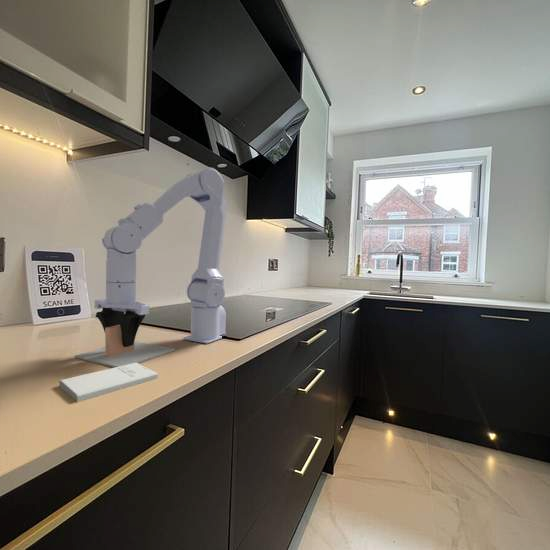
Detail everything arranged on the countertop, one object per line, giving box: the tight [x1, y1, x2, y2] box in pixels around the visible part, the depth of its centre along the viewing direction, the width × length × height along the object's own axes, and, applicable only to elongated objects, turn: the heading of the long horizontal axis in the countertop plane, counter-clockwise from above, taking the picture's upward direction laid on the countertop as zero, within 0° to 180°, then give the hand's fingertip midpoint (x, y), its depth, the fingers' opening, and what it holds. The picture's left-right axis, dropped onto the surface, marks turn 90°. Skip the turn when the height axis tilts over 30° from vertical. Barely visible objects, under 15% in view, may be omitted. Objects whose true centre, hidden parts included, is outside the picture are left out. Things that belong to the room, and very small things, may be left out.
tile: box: [104, 325, 136, 357], centre depth 65 cm, size 6×2×6 cm, turn 155°
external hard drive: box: [58, 363, 158, 403], centre depth 50 cm, size 2×8×12 cm
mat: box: [74, 340, 176, 368], centre depth 65 cm, size 14×14×1 cm
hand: (120, 344), depth 65 cm, fingers open, 4 cm apart
